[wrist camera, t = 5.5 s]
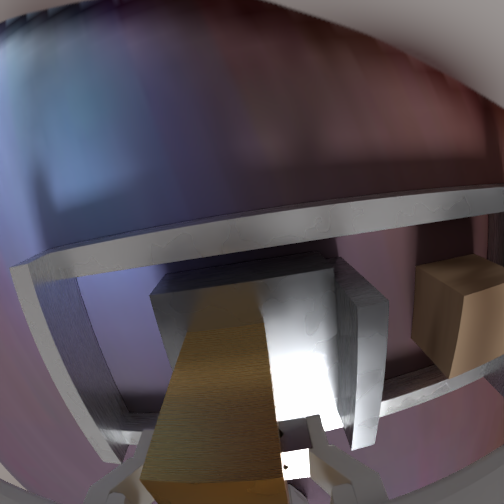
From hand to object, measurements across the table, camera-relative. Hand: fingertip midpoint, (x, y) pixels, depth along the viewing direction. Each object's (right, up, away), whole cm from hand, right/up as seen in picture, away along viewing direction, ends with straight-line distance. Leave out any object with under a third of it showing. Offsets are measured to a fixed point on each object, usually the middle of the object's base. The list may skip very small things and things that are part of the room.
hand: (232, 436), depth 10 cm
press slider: (+1, +2, +7) cm, 8 cm away
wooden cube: (+13, +4, +7) cm, 16 cm away
